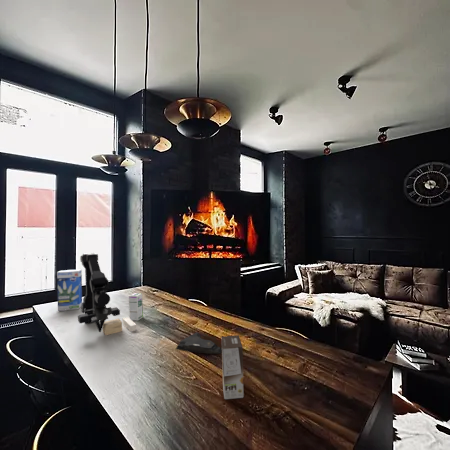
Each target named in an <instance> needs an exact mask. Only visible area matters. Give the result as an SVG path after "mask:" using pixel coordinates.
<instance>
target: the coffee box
mask: <svg viewBox="0 0 450 450" xmlns="http://www.w3.org/2000/svg"><path fill="white" fill-rule="evenodd" d="M240 338H241V337H240V335H227V336H221V349H222V353H221V367H222V370H221V371H222V375H221V376H222V389H223V399H224V400H232V399H233V400H234V399H243V398H244V393H245V392H244V362H243V361H244V359H243V358H244V357H243V355H244V354H243V345H242V341H241V339H240Z"/></svg>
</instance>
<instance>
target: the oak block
mask: <svg viewBox="0 0 450 450" xmlns="http://www.w3.org/2000/svg"><path fill="white" fill-rule="evenodd" d="M120 332H123V320H121V319H120V318H115V319H111V320H105V322H104V324H103V327H102V333H103V334H104V335H105V336H109V335H112V334H117V333H120Z"/></svg>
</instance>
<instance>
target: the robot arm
mask: <svg viewBox="0 0 450 450" xmlns="http://www.w3.org/2000/svg"><path fill="white" fill-rule="evenodd" d="M79 260H80V262H81V265H82V266H83V268H84V273H85V275H84V276H85V294H84V297H82V306H81V308H80V310H81V314H78V315H77V321H78V323H79V324H85V325H86V324H91V323H95V326H96V327H97V330H98V332H99V333H101V331H103V324H104V322H106V321H107V320H108V319H109V316H111V315H112V316H113V317H117V316H120V315H121V310H120V309H119V308H118V307H115V306H114V307H112V306H109V307H107V305H109V303H110V302H111V297H110V295H109V294H108V293H107V291H109V290H110V283H109V280H108V277H106V275H105V273H104V272H102V270H101V267H100V263H99V254H98V253H95V252H91V253H90V252H87V253H82V255H80V259H79Z"/></svg>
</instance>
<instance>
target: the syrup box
mask: <svg viewBox="0 0 450 450" xmlns="http://www.w3.org/2000/svg"><path fill="white" fill-rule="evenodd" d="M143 307H144V304H143V293H141V292H135V293H134V292H133V293H132V294H130V295H128V313H129V316H128V318H130V319H131V320H132V321H139V320H141V319H142V318H144V308H143Z"/></svg>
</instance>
